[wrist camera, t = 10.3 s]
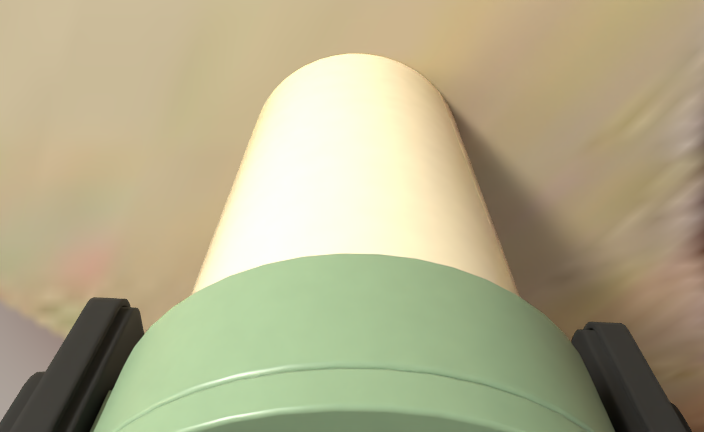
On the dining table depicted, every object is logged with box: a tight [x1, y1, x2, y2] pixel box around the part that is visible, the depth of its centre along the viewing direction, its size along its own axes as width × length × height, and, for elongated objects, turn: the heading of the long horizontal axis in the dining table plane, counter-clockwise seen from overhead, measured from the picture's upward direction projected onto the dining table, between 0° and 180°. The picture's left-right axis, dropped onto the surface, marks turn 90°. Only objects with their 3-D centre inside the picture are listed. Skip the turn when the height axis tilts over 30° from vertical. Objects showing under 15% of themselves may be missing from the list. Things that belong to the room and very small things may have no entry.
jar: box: [191, 54, 520, 297], centre depth 13 cm, size 6×6×12 cm
